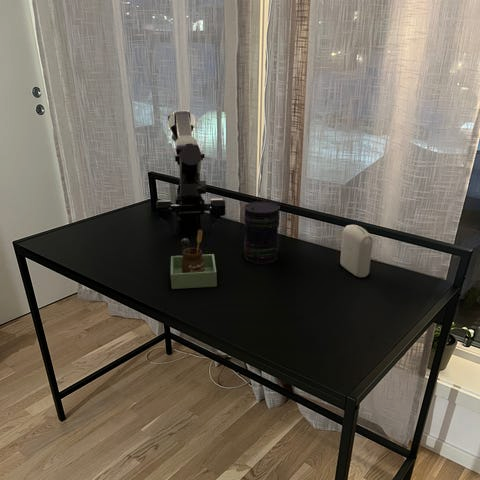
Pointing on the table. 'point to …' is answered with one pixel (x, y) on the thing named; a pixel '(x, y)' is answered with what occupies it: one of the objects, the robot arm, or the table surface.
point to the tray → (193, 274)
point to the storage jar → (261, 231)
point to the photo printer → (356, 250)
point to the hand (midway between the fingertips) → (192, 236)
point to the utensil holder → (193, 257)
